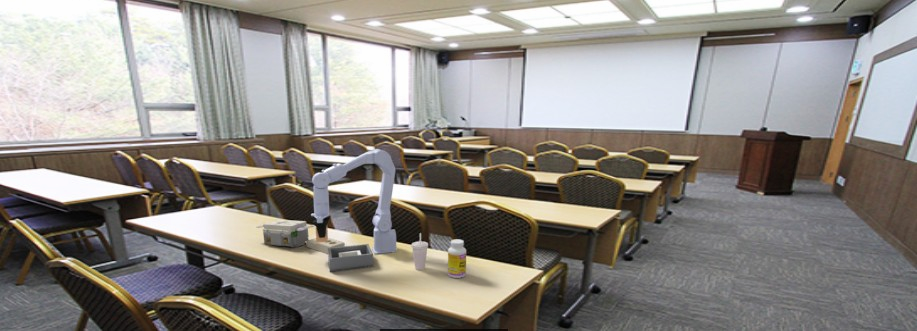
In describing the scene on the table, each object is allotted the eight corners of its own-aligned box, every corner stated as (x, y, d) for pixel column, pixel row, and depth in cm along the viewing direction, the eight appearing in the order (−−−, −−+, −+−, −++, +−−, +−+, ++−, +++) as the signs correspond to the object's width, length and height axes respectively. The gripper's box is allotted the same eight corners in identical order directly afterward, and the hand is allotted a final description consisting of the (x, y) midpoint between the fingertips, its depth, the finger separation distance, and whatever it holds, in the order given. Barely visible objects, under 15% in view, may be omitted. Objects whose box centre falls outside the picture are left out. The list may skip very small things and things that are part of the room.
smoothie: (415, 272, 140) (414, 236, 139) (409, 266, 146) (408, 231, 144) (431, 269, 143) (430, 233, 142) (424, 264, 149) (424, 229, 147)
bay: (368, 255, 158) (368, 243, 158) (373, 266, 146) (373, 254, 146) (328, 260, 152) (327, 248, 152) (329, 272, 140) (329, 259, 140)
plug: (328, 238, 155) (327, 222, 154) (326, 241, 151) (326, 224, 150) (317, 239, 154) (316, 222, 153) (316, 242, 150) (315, 225, 149)
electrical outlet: (320, 234, 174) (344, 242, 163) (320, 243, 175) (345, 251, 164) (306, 238, 168) (330, 246, 158) (306, 247, 169) (330, 256, 158)
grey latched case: (299, 250, 162) (297, 227, 161) (254, 245, 174) (251, 224, 173) (319, 242, 173) (317, 221, 172) (275, 238, 184) (273, 218, 184)
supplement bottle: (459, 280, 134) (460, 245, 132) (444, 276, 137) (444, 242, 136) (469, 273, 140) (469, 240, 138) (454, 270, 143) (454, 237, 142)
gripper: (313, 199, 157) (314, 231, 159) (307, 207, 143) (309, 242, 145) (331, 198, 159) (332, 230, 160) (327, 206, 145) (328, 240, 146)
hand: (322, 235), depth 153 cm, fingers closed on plug, 4 cm apart
